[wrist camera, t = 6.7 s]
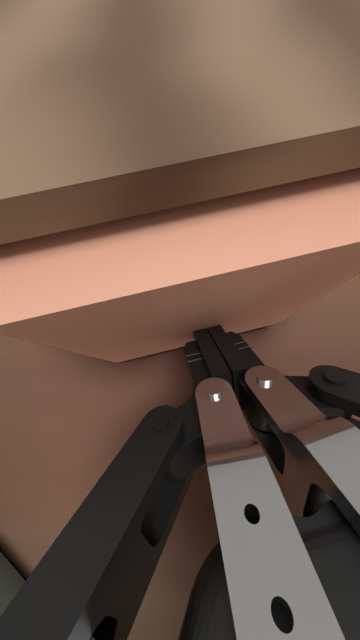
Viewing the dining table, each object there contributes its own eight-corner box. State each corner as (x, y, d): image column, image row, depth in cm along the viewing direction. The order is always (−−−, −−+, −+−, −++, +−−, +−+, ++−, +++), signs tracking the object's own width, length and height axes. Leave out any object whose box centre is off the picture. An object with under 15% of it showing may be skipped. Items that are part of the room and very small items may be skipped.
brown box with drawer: (237, 196, 19) (312, -71, 8) (285, 301, 16) (554, 85, 4) (83, 230, 19) (-81, -9, 7) (94, 346, 15) (-201, 240, 4)
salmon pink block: (236, 223, 17) (291, 48, 8) (278, 323, 14) (440, 223, 5) (102, 253, 16) (2, 102, 7) (116, 362, 13) (-20, 329, 4)
